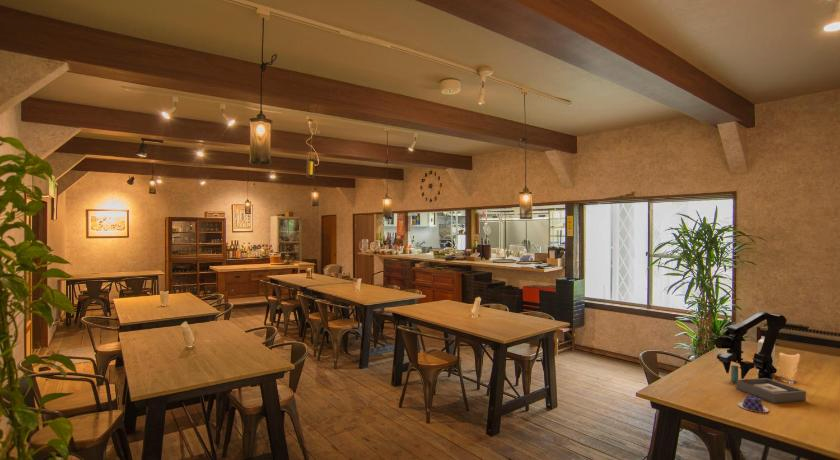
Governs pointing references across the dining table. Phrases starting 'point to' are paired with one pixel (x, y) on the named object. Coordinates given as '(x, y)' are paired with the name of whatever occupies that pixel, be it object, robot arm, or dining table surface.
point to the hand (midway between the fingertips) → (734, 376)
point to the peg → (734, 373)
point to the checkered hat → (753, 404)
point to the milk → (761, 347)
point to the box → (771, 390)
